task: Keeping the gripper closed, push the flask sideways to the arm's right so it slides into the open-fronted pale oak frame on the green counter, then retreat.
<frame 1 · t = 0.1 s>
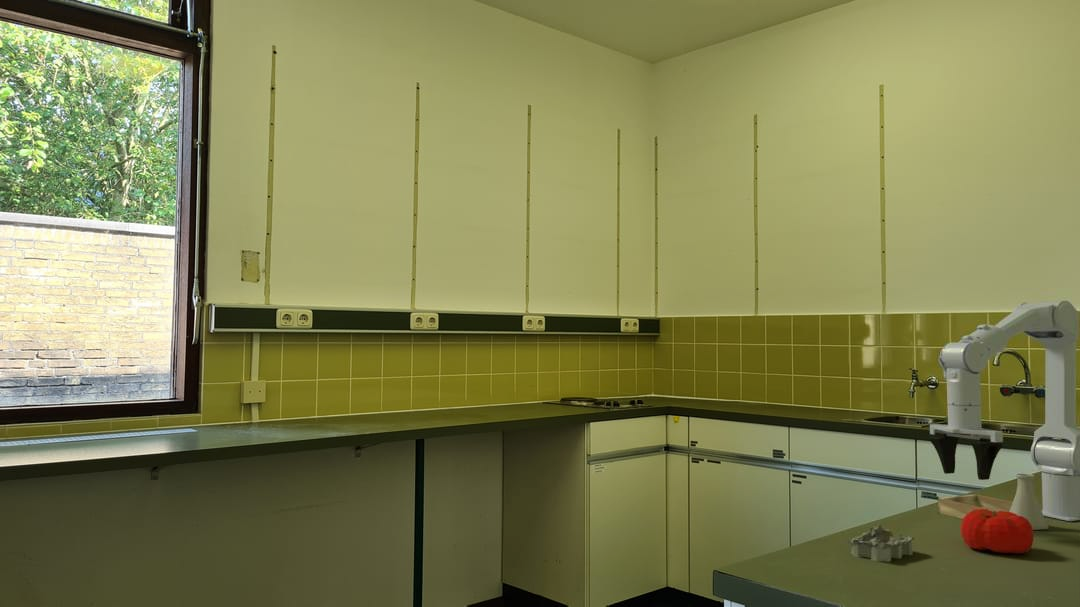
hand: (966, 476, 153), 10 cm above the counter, fingers open, 7 cm apart
oak frame: (980, 516, 164), on the counter
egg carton: (882, 556, 136), on the counter
tomato: (997, 551, 138), on the counter
flask: (1026, 527, 155), on the counter
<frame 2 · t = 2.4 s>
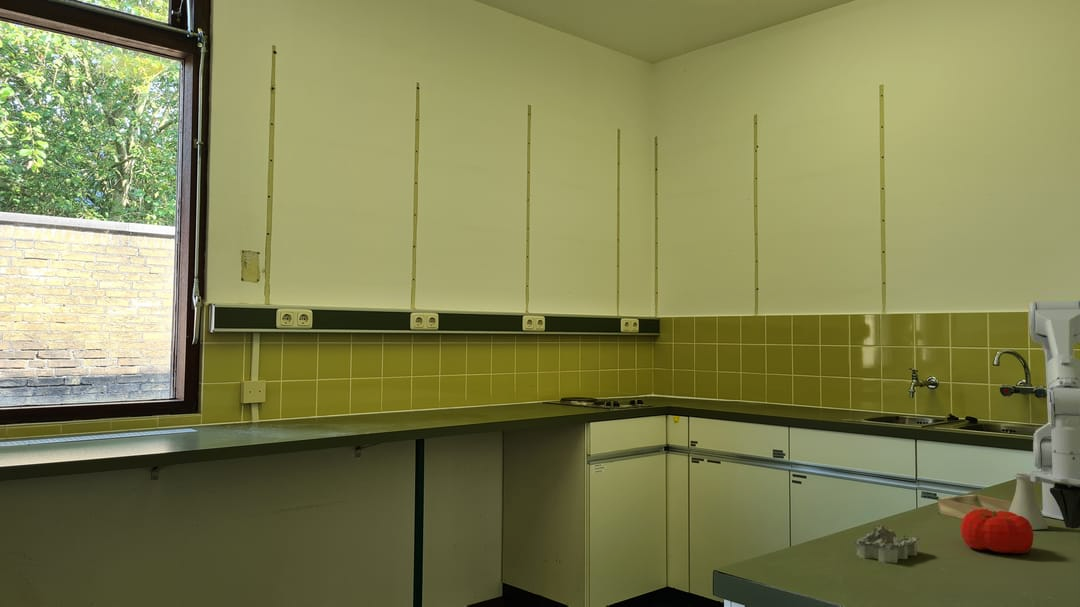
hand: (1072, 527, 147), 2 cm above the counter, fingers closed
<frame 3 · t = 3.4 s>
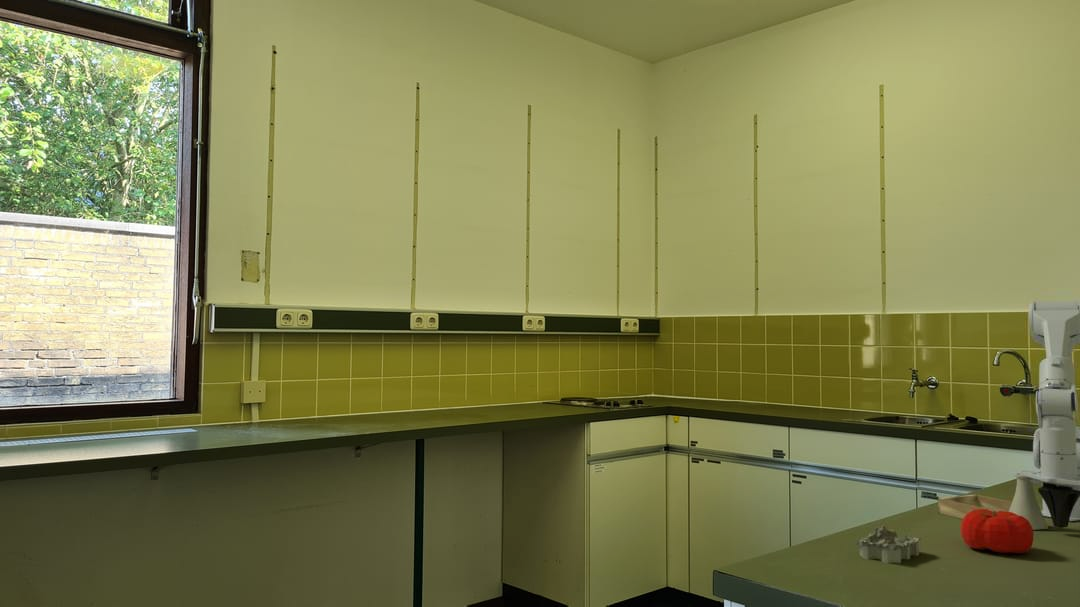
hand: (1060, 526, 149), 1 cm above the counter, fingers closed
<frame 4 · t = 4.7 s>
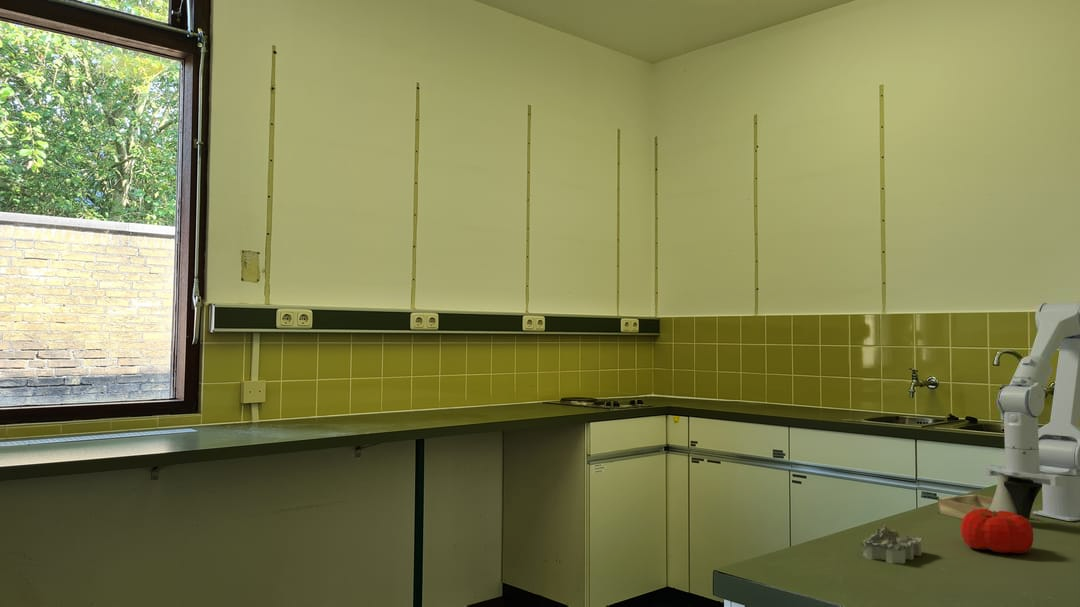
hand: (1023, 518, 156), 1 cm above the counter, fingers closed, pressing on flask
flask: (1007, 522, 159), on the counter, touching gripper
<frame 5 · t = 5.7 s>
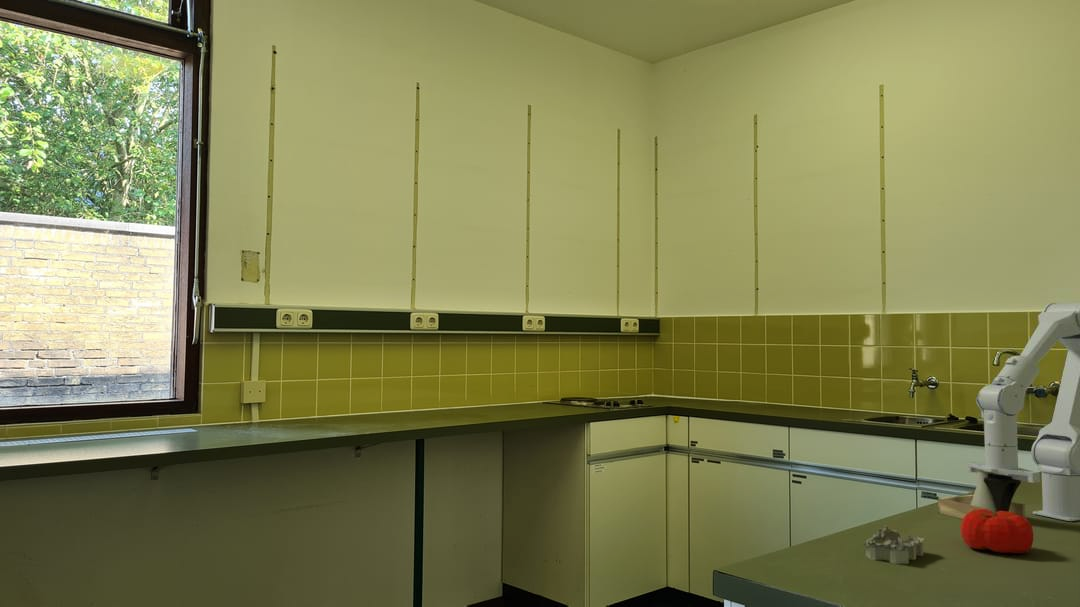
hand: (1002, 513, 160), 1 cm above the counter, fingers closed, pressing on flask
flask: (987, 518, 163), on the counter, touching gripper
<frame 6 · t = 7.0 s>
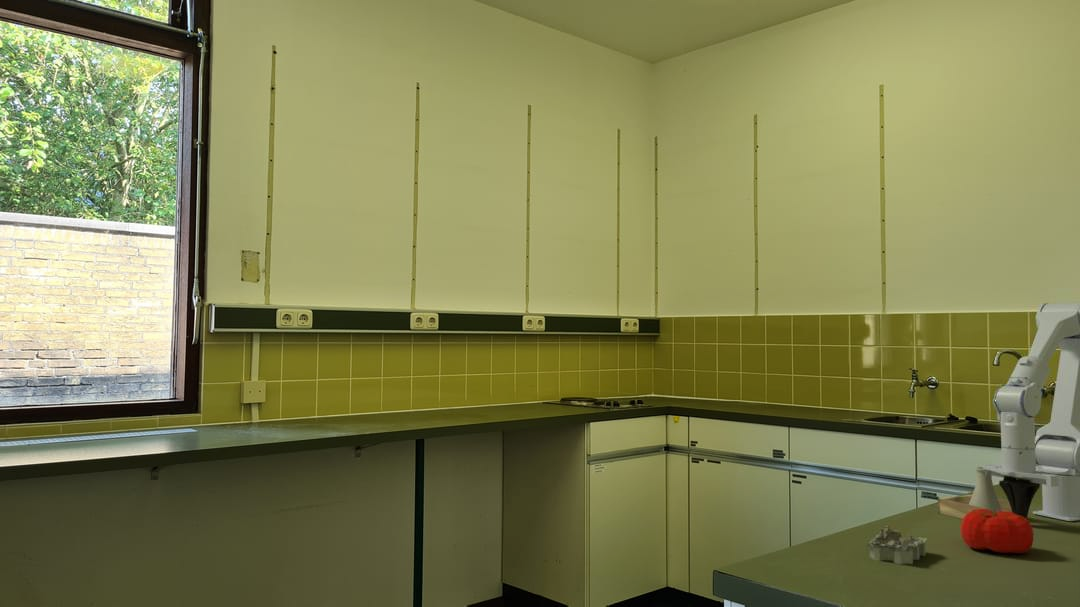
hand: (1020, 517, 156), 1 cm above the counter, fingers closed
flask: (985, 518, 163), on the counter
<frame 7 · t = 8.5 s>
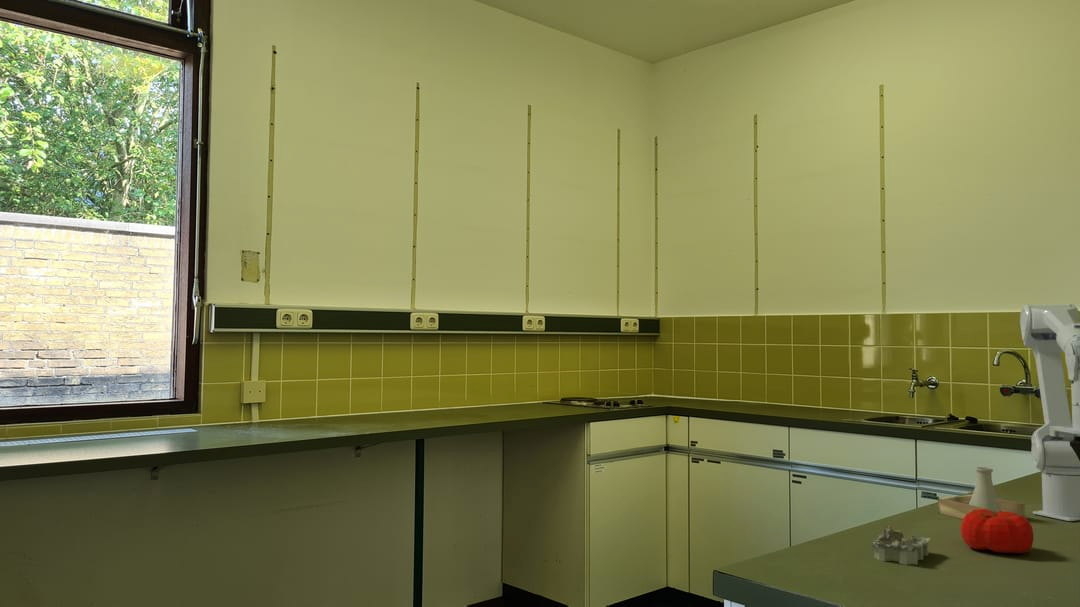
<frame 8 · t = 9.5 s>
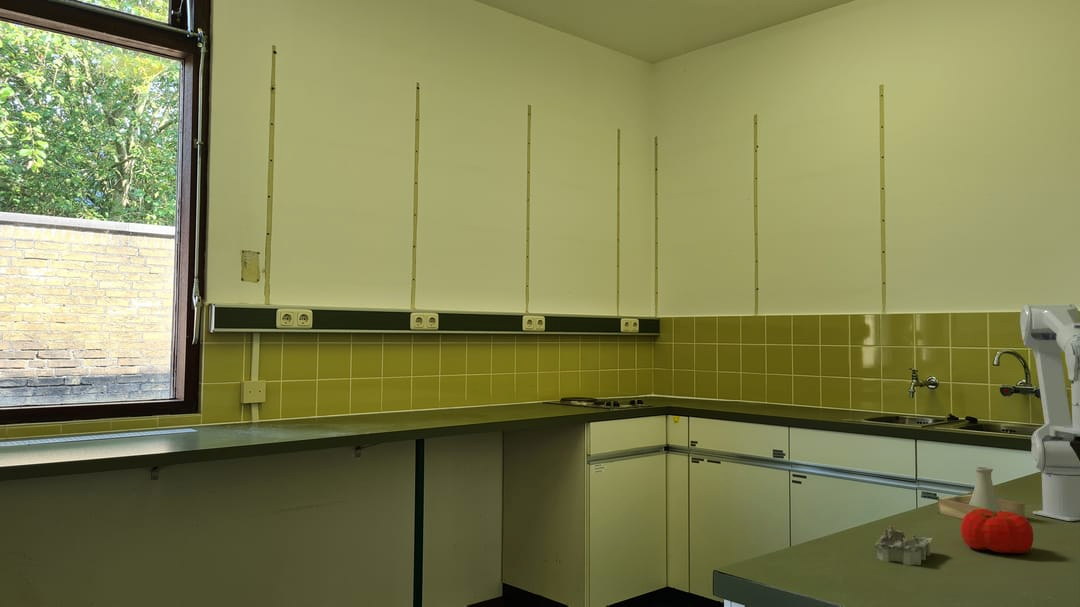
at the end: flask inside the target area on the oak frame (1.9 cm from its centre), point 0.0 cm above the oak frame's base; flask tilted 0°; flask moved 8.9 cm from its start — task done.
